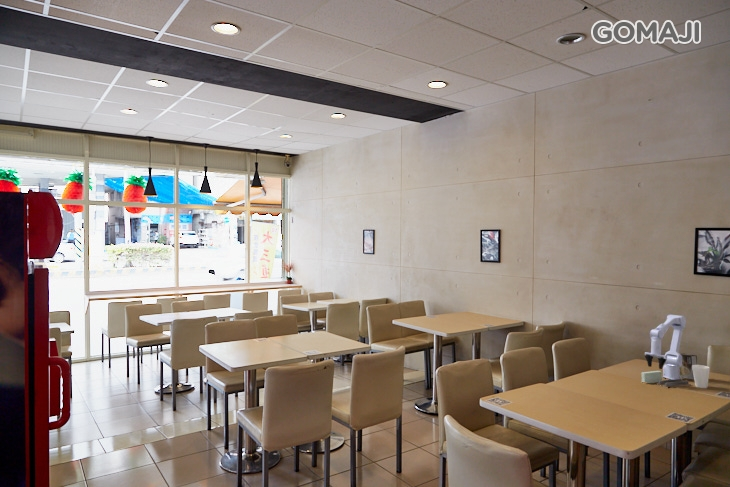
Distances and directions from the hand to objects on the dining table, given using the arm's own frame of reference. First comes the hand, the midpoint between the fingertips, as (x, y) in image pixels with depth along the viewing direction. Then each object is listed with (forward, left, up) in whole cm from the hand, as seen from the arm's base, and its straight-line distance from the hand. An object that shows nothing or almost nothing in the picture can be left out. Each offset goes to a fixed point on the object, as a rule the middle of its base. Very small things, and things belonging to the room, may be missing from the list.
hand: (655, 367), depth 312 cm
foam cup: (+15, +20, -11) cm, 28 cm away
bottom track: (+7, +7, -10) cm, 14 cm away
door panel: (-3, 0, -11) cm, 11 cm away
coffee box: (-3, +31, -11) cm, 33 cm away
